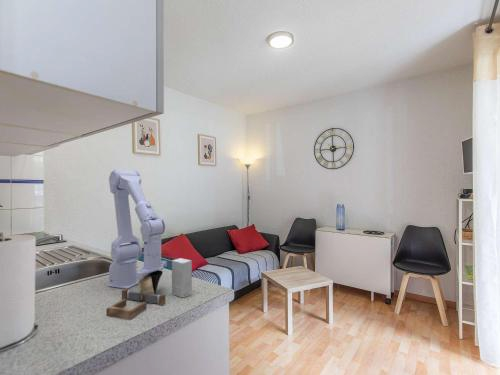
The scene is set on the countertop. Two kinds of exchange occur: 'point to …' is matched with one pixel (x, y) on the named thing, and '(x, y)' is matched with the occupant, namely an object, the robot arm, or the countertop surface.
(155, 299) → the flap right
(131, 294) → the flap left
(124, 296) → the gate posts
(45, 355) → the countertop surface
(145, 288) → the peg
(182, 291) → the skincare box
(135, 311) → the bay
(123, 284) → the robot arm
